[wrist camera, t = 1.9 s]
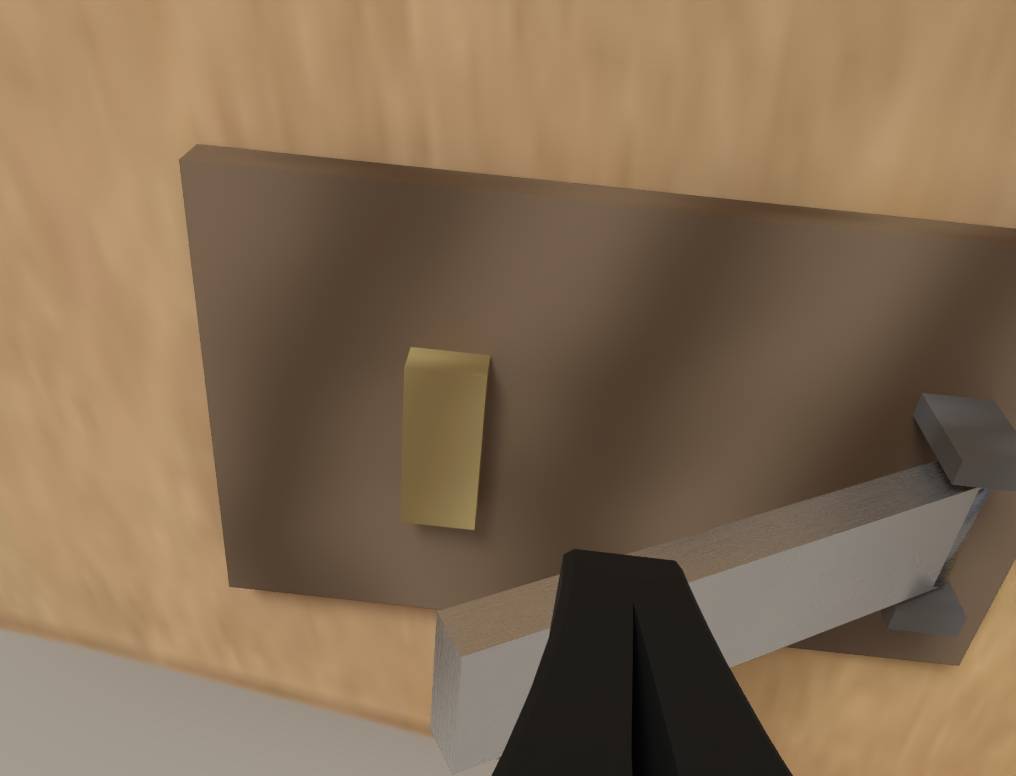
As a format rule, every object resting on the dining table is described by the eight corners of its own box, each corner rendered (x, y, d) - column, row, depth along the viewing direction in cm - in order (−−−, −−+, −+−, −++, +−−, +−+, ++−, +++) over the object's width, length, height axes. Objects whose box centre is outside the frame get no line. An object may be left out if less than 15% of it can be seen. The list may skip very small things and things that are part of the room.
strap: (964, 450, 20) (1007, 479, 19) (919, 551, 21) (956, 582, 21) (435, 609, 15) (462, 659, 14) (429, 726, 16) (453, 777, 15)
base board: (1144, 242, 19) (1251, 321, 16) (946, 637, 25) (994, 746, 22) (196, 144, 19) (126, 204, 16) (240, 561, 25) (196, 658, 22)
